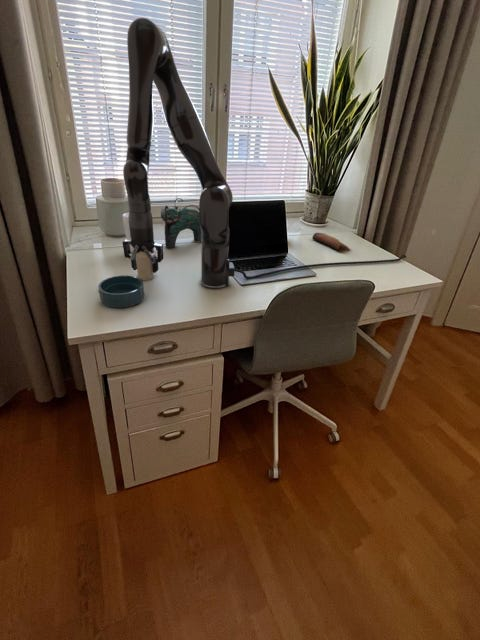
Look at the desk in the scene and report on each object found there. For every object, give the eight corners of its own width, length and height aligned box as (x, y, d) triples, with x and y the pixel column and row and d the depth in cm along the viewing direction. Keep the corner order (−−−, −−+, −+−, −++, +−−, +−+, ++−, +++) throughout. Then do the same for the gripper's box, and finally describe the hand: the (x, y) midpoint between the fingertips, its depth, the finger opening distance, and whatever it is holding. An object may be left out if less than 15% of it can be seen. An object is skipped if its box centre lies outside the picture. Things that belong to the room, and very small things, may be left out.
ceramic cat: (167, 250, 147) (164, 201, 136) (159, 245, 151) (156, 198, 140) (206, 242, 158) (206, 196, 147) (198, 238, 162) (197, 193, 152)
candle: (149, 281, 121) (147, 253, 116) (135, 278, 122) (132, 251, 117) (156, 274, 126) (154, 248, 121) (142, 272, 127) (139, 246, 121)
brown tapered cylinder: (351, 248, 160) (349, 237, 156) (340, 258, 159) (337, 247, 155) (324, 236, 173) (321, 226, 168) (314, 245, 172) (310, 235, 168)
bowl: (145, 288, 116) (144, 275, 114) (142, 308, 105) (141, 294, 103) (104, 289, 114) (102, 275, 111) (97, 309, 103) (94, 295, 100)
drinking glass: (144, 253, 142) (141, 216, 134) (127, 254, 140) (123, 217, 132) (142, 247, 148) (138, 212, 140) (125, 249, 145) (121, 212, 137)
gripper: (166, 223, 116) (168, 269, 125) (125, 218, 118) (131, 264, 127) (157, 230, 110) (160, 277, 119) (115, 225, 112) (121, 272, 121)
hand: (145, 270), depth 123 cm, fingers open, 7 cm apart
